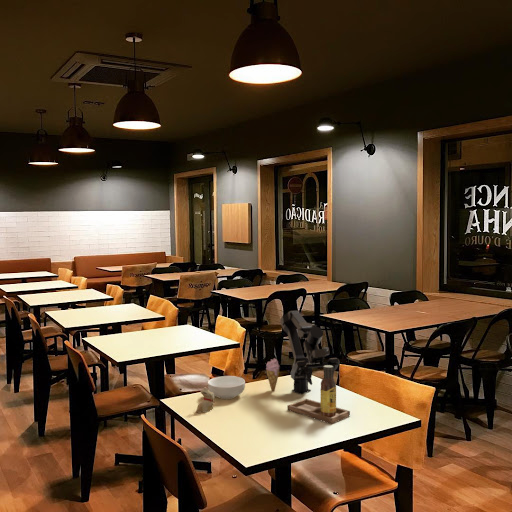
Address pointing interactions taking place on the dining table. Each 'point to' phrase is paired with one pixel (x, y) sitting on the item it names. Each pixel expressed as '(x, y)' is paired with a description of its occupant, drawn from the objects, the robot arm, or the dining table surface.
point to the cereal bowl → (226, 386)
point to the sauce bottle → (328, 392)
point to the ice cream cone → (272, 373)
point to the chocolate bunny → (206, 401)
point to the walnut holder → (316, 410)
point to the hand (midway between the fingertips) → (322, 383)
